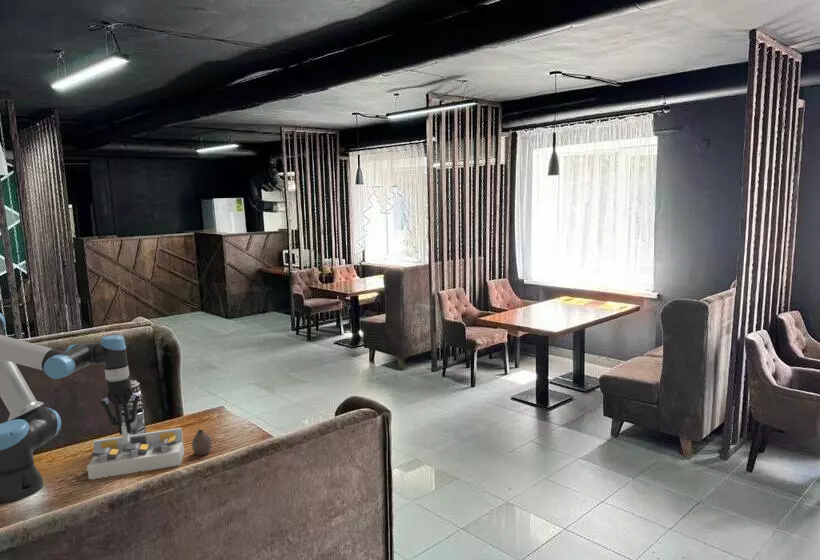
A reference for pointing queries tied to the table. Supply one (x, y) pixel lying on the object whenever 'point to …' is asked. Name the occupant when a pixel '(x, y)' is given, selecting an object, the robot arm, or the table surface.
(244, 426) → the table surface
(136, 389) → the decorative candle
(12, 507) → the table surface
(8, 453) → the robot arm
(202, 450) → the vase
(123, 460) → the switch unit
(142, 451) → the switch middle
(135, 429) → the wine glass
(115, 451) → the switch left
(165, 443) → the switch right
